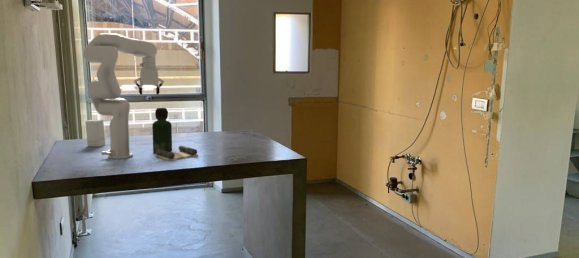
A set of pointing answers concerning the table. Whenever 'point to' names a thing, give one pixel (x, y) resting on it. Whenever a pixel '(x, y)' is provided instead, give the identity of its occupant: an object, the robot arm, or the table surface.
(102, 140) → the skincare box
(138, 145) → the table surface
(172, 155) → the cradle
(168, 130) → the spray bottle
